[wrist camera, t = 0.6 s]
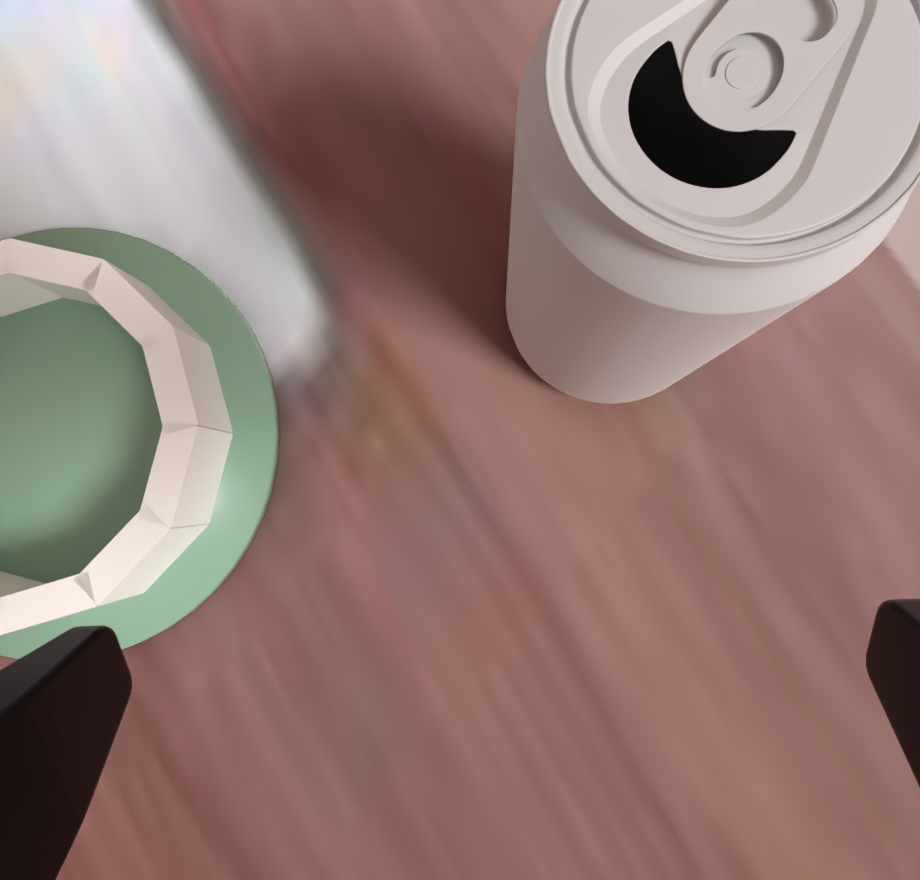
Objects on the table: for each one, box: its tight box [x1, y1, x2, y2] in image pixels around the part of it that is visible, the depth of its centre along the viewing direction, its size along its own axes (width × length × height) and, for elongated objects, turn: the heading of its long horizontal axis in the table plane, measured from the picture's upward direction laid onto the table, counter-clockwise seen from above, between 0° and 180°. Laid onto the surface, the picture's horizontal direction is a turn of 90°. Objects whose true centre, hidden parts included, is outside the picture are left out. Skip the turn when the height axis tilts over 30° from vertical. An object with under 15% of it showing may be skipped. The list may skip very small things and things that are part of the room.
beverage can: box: [506, 0, 920, 404], centre depth 15 cm, size 6×6×12 cm
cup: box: [0, 228, 280, 659], centre depth 20 cm, size 14×14×3 cm
